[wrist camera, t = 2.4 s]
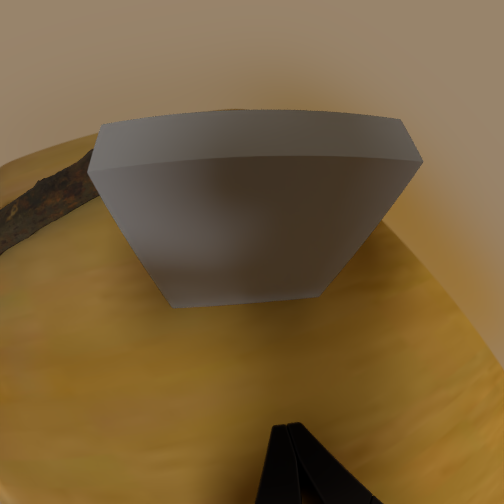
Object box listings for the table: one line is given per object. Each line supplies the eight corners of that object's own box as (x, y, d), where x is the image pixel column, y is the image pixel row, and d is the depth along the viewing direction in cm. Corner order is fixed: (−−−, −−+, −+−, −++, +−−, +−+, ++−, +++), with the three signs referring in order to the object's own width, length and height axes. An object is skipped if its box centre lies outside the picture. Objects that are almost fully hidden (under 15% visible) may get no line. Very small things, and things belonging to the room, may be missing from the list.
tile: (318, 296, 21) (423, 161, 8) (172, 308, 20) (87, 172, 7) (313, 266, 22) (397, 114, 9) (172, 276, 21) (103, 118, 8)
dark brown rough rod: (109, 169, 25) (93, 133, 21) (119, 199, 24) (101, 163, 20) (-36, 256, 20) (-63, 235, 16) (-36, 289, 19) (-65, 270, 15)
